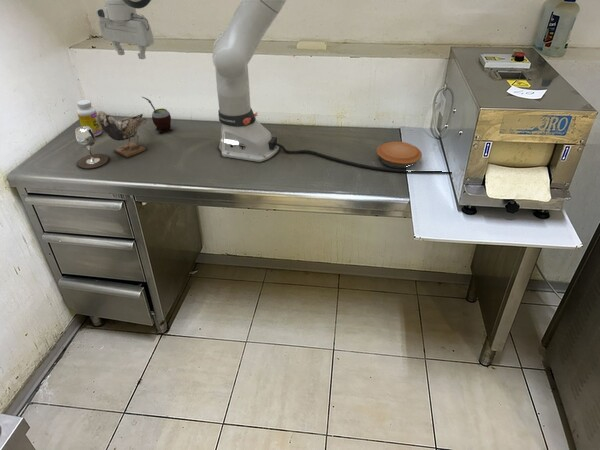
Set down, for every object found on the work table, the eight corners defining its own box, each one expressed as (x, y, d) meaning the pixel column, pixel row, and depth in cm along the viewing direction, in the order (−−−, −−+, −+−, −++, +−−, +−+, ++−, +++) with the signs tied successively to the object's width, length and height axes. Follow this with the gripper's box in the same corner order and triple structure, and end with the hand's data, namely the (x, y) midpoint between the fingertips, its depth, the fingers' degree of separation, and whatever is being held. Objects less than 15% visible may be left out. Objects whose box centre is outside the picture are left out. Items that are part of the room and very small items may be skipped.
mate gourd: (176, 127, 176) (169, 90, 167) (166, 135, 170) (159, 98, 160) (159, 125, 177) (151, 89, 168) (149, 133, 171) (141, 96, 162)
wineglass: (95, 165, 150) (85, 133, 143) (80, 164, 151) (69, 131, 143) (105, 157, 154) (95, 126, 147) (90, 156, 155) (80, 124, 148)
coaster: (114, 159, 155) (114, 157, 154) (92, 171, 148) (91, 170, 147) (94, 152, 158) (94, 151, 158) (71, 165, 151) (71, 163, 151)
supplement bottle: (98, 137, 168) (88, 105, 160) (81, 137, 168) (70, 105, 160) (104, 130, 173) (95, 98, 166) (88, 130, 174) (78, 98, 166)
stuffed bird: (99, 161, 153) (85, 115, 143) (134, 137, 168) (124, 93, 158) (123, 166, 151) (110, 119, 140) (156, 141, 166) (147, 97, 155)
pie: (368, 153, 159) (370, 141, 156) (408, 148, 162) (410, 136, 159) (385, 174, 147) (387, 161, 144) (427, 169, 150) (430, 156, 147)
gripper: (153, 13, 137) (161, 58, 146) (106, 7, 145) (117, 50, 153) (139, 17, 133) (148, 63, 141) (91, 10, 140) (103, 54, 149)
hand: (131, 56), depth 147 cm, fingers open, 8 cm apart
